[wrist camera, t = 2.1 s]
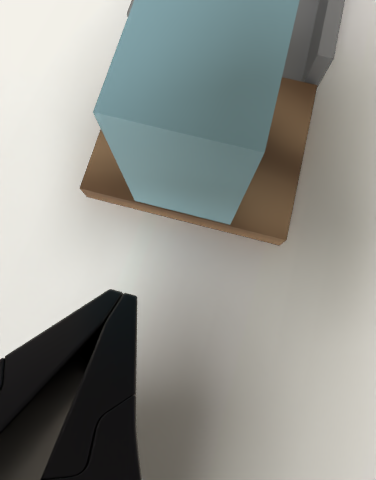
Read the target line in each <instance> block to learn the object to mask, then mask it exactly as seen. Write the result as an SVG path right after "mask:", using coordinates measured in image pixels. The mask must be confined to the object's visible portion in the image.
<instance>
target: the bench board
mask: <svg viewBox="0 0 376 480" xmlns="http://www.w3.org/2000/svg"><path fill="white" fill-rule="evenodd" d="M316 89H317V85H315V84H310V83H306V82H301V81H297V80H292V79H288V78H283V77H282V79H281V83H280V88H279V92H278V96H277V101H276V105H275V109H274V114H273V118H272V123H271V127H270V131H269V136H268V140H267V144H266V149H265V153H264V155H263V157H262V159H261V161H260V163H259V165H258V168H257V170H256V172H255V174H254V176H253V178H252V180H251V182H250V184H249V186H248V189H247V191H246V193H245V195H244V197H243V199H242V201H241V203H240V205H239V207H238V210H237V212H236V214H235V216H234V218H233V220H232V222H231V224H230V225H229V224H225V223H221V222H217V221H213V220H209V219H205V218H201V217H197V216H193V215H189V214H185V213H181V212H177V211H173V210H169V209H165V208H161V207H157V206H153V205H149V204H145V203H141V202H137V201H135V200H134V198H133V196H132V194H131V192H130V189H129V187H128V185H127V183H126V181H125V179H124V177H123V175H122V172H121V170H120V168H119V166H118V164H117V162H116V160H115V158H114V155H113V153H112V151H111V149H110V147H109V145H108V143H107V141H106V138H105V136H104V134H103V132H102V130H100V133H99V136H98V138H97V141H96V144H95V147H94V150H93V152H92V155H91V158H90V161H89V164H88V166H87V169H86V172H85V175H84V177H83V180H82V183H81V186H80V189H81V190H82V192H83V193H84V194H85V195H86V196H87V197H90V198H94V199H98V200H102V201H106V202H110V203H114V204H118V205H122V206H126V207H129V208H133V209H137V210H141V211H145V212H149V213H153V214H157V215H161V216H165V217H169V218H173V219H177V220H181V221H185V222H189V223H193V224H197V225H201V226H205V227H209V228H213V229H217V230H221V231H225V232H228V233H232V234H236V235H240V236H244V237H248V238H252V239H256V240H260V241H264V242H268V243H272V244H276V245H281V244H282V243H283V242H285V241H286V239H287V234H288V229H289V224H290V219H291V214H292V209H293V204H294V199H295V194H296V189H297V184H298V179H299V174H300V169H301V164H302V159H303V154H304V149H305V144H306V139H307V134H308V129H309V124H310V119H311V114H312V109H313V104H314V99H315V94H316Z"/></svg>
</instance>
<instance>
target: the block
mask: <svg viewBox="0 0 376 480" xmlns="http://www.w3.org/2000/svg"><path fill="white" fill-rule="evenodd" d="M298 5H299V0H134V2H133V5H132V8H131V10H130V13H129V16H128V19H127V21H126V24H125V27H124V29H123V32H122V35H121V38H120V40H119V43H118V46H117V49H116V51H115V54H114V57H113V59H112V62H111V65H110V68H109V70H108V73H107V76H106V78H105V81H104V84H103V87H102V89H101V92H100V95H99V97H98V100H97V103H96V106H95V108H94V111H93V113H94V115H95V117H96V119H97V121H98V124H99V126H100V128H101V130H102V132H103V134H104V136H105V138H106V141H107V143H108V145H109V147H110V149H111V151H112V153H113V155H114V158H115V160H116V162H117V164H118V166H119V168H120V170H121V172H122V175H123V177H124V179H125V181H126V183H127V185H128V187H129V189H130V192H131V194H132V196H133V198H134V200H135V201H137V202H141V203H145V204H149V205H153V206H157V207H161V208H165V209H169V210H173V211H177V212H181V213H185V214H189V215H193V216H197V217H201V218H205V219H209V220H213V221H217V222H221V223H225V224H229V225H230V224H231V222H232V220H233V218H234V216H235V214H236V212H237V210H238V207H239V205H240V203H241V201H242V199H243V197H244V195H245V193H246V191H247V189H248V186H249V184H250V182H251V180H252V178H253V176H254V174H255V172H256V170H257V168H258V165H259V163H260V161H261V159H262V157H263V155H264V153H265V149H266V144H267V140H268V136H269V131H270V127H271V123H272V118H273V114H274V109H275V105H276V101H277V96H278V92H279V88H280V83H281V79H282V75H283V70H284V66H285V62H286V57H287V53H288V48H289V44H290V40H291V35H292V31H293V27H294V22H295V18H296V14H297V9H298Z"/></svg>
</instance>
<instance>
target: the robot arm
mask: <svg viewBox="0 0 376 480" xmlns="http://www.w3.org/2000/svg"><path fill="white" fill-rule="evenodd" d="M136 357H137V297H136V296H134V295H131V294H127V293H124V294H123V293H122V292H120V291H116V290H112V289H110V290H108V291H106V292H104V293H103V294H101V295H100V296H98V297H97V298H95V299H94V300H92V301H90V302H89V303H87V304H86V305H84V306H83V307H81V308H80V309H78V310H76V311H75V312H73V313H72V314H70V315H69V316H67V317H66V318H64V319H62V320H61V321H59V322H58V323H56V324H55V325H53V326H51V327H50V328H48V329H47V330H45V331H44V332H42V333H41V334H39V335H37V336H36V337H34V338H33V339H31V340H30V341H28V342H27V343H25V344H23V345H22V346H20V347H19V348H17V349H16V350H14V351H13V352H11V353H9V354H8V355H6V356H5V359H4V358H1V359H0V480H142V478H141V471H140V463H139V454H138V444H137V433H136Z"/></svg>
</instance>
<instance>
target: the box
mask: <svg viewBox="0 0 376 480" xmlns="http://www.w3.org/2000/svg"><path fill="white" fill-rule="evenodd" d="M133 2H134V0H132V1H131V4H130V6H129V9H128V12H127V16H129V13H130V10H131V8H132V5H133ZM344 2H345V0H299V5H298V9H297V14H296V18H295V22H294V27H293V31H292V35H291V40H290V44H289V48H288V53H287V57H286V62H285V66H284V70H283V75H282V77H283V78H288V79H292V80H297V81H301V82H306V83H310V84H315V85H317V87H318V85H319V83H320V81H321V80H322V78H323V76H324V74H325V73H326V71H327V69H328V67H329V66H330V64H331V62H332V60H333V59H334V54H335V49H336V43H337V38H338V33H339V28H340V23H341V17H342V12H343V7H344Z"/></svg>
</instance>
